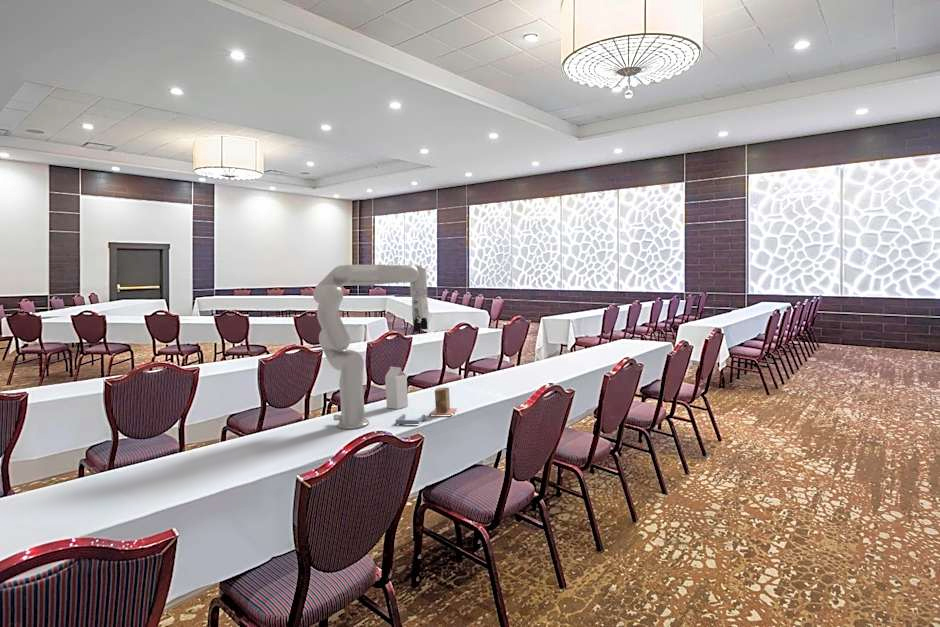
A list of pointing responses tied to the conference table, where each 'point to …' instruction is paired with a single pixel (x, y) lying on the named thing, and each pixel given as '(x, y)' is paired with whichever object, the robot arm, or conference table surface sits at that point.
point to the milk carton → (396, 388)
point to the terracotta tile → (443, 413)
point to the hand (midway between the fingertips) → (420, 330)
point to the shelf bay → (402, 421)
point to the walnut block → (442, 400)
